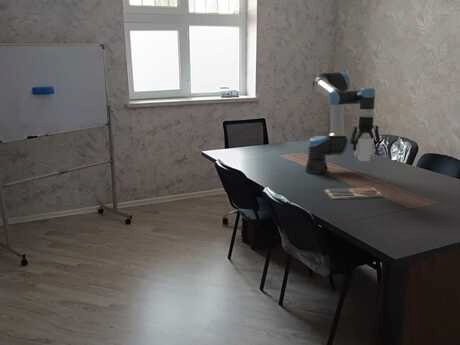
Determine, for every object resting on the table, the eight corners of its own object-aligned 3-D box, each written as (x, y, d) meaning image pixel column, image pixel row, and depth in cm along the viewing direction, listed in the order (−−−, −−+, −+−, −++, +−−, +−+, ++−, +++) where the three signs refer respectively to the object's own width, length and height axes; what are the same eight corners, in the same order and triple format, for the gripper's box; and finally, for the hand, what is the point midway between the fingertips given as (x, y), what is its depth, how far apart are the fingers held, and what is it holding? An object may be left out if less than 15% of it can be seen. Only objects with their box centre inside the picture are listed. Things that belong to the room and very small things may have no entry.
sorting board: (324, 190, 251) (324, 188, 251) (372, 188, 253) (373, 186, 253) (331, 199, 237) (331, 197, 236) (383, 196, 239) (383, 194, 238)
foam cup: (361, 162, 241) (362, 139, 238) (352, 159, 250) (353, 136, 246) (376, 161, 244) (377, 138, 240) (366, 157, 252) (368, 135, 249)
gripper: (349, 117, 236) (347, 158, 242) (388, 116, 238) (385, 156, 243) (344, 116, 243) (343, 155, 249) (382, 114, 245) (380, 153, 250)
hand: (364, 155), depth 246 cm, fingers closed on foam cup, 9 cm apart
